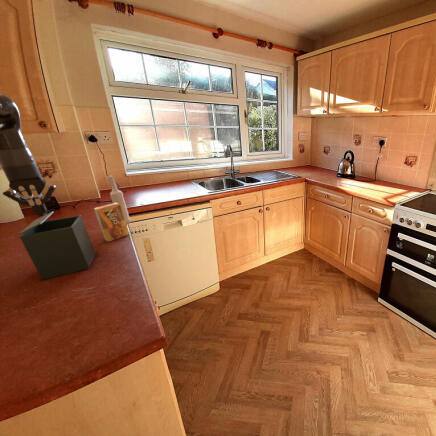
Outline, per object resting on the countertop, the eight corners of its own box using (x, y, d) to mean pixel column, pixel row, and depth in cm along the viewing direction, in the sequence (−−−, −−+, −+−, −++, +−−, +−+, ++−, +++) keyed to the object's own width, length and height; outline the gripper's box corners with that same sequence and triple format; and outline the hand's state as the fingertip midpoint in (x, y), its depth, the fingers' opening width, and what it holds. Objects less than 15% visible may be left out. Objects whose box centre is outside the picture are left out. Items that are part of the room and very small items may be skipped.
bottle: (119, 225, 124) (103, 177, 115) (119, 222, 128) (104, 175, 119) (131, 223, 127) (116, 176, 117) (131, 220, 131) (117, 174, 121)
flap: (19, 235, 76) (18, 234, 76) (35, 221, 87) (34, 220, 87) (41, 224, 78) (39, 223, 78) (53, 212, 88) (52, 211, 88)
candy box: (125, 232, 116) (116, 202, 110) (129, 234, 114) (120, 203, 108) (104, 239, 110) (92, 208, 104) (108, 242, 107) (96, 209, 102)
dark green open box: (41, 279, 83) (19, 236, 76) (53, 262, 93) (35, 222, 87) (89, 268, 88) (71, 227, 82) (95, 252, 99) (80, 215, 93)
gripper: (50, 159, 82) (70, 208, 88) (-5, 164, 76) (20, 215, 83) (42, 162, 75) (64, 214, 82) (-19, 167, 70) (10, 223, 76)
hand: (42, 214), depth 82 cm, fingers closed
